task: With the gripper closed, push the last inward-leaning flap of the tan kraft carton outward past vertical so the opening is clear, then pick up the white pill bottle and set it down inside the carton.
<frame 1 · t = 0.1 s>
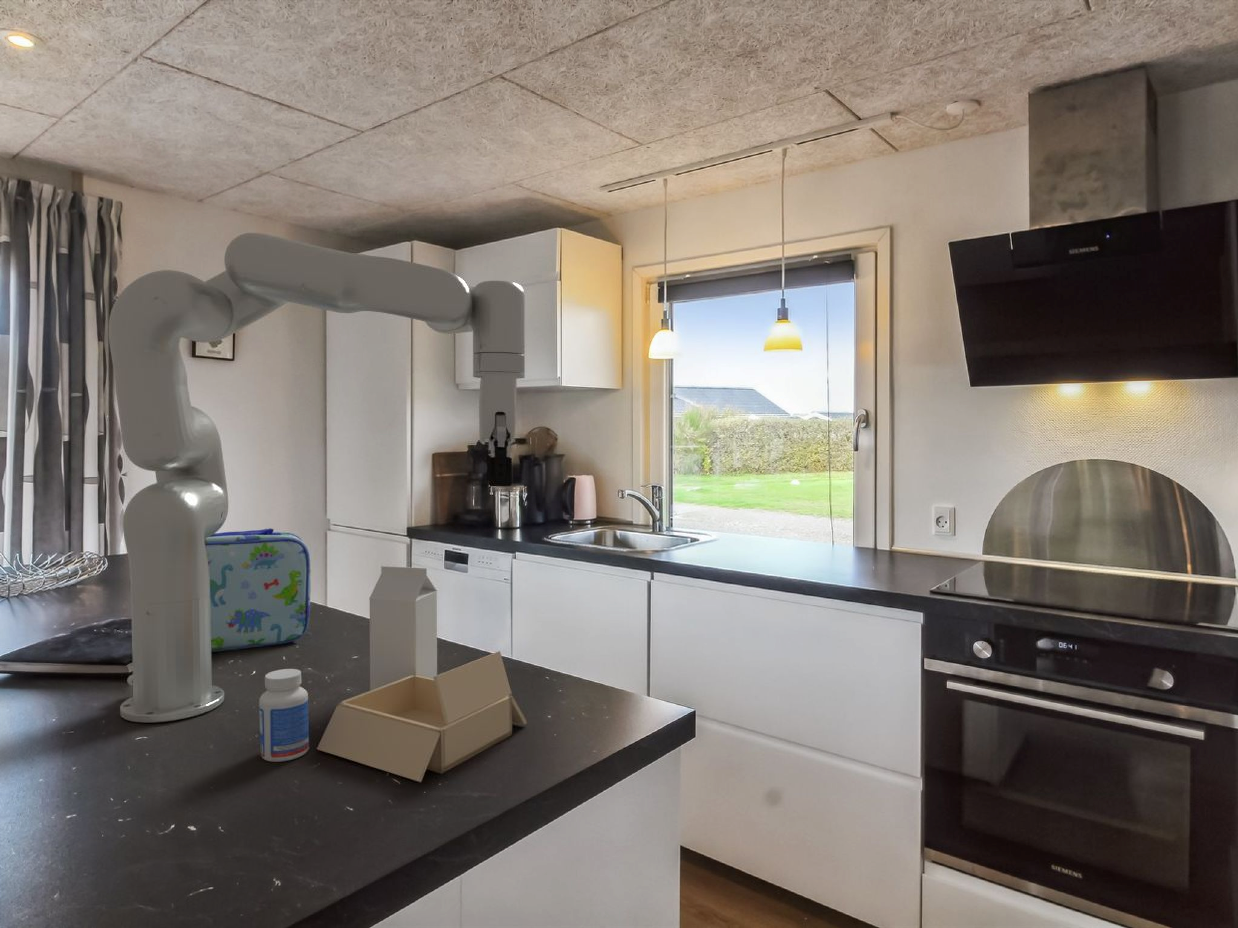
hand: (499, 483, 114), 31 cm above the worktop, tool pointing down, fingers open, 9 cm apart
milk carton: (404, 696, 113), on the worktop
flap: (474, 685, 93), point 8 cm above the worktop, hinge at -20.0°
pill bottle: (284, 754, 93), on the worktop
lunch box: (233, 646, 138), on the worktop
carton: (426, 738, 98), on the worktop
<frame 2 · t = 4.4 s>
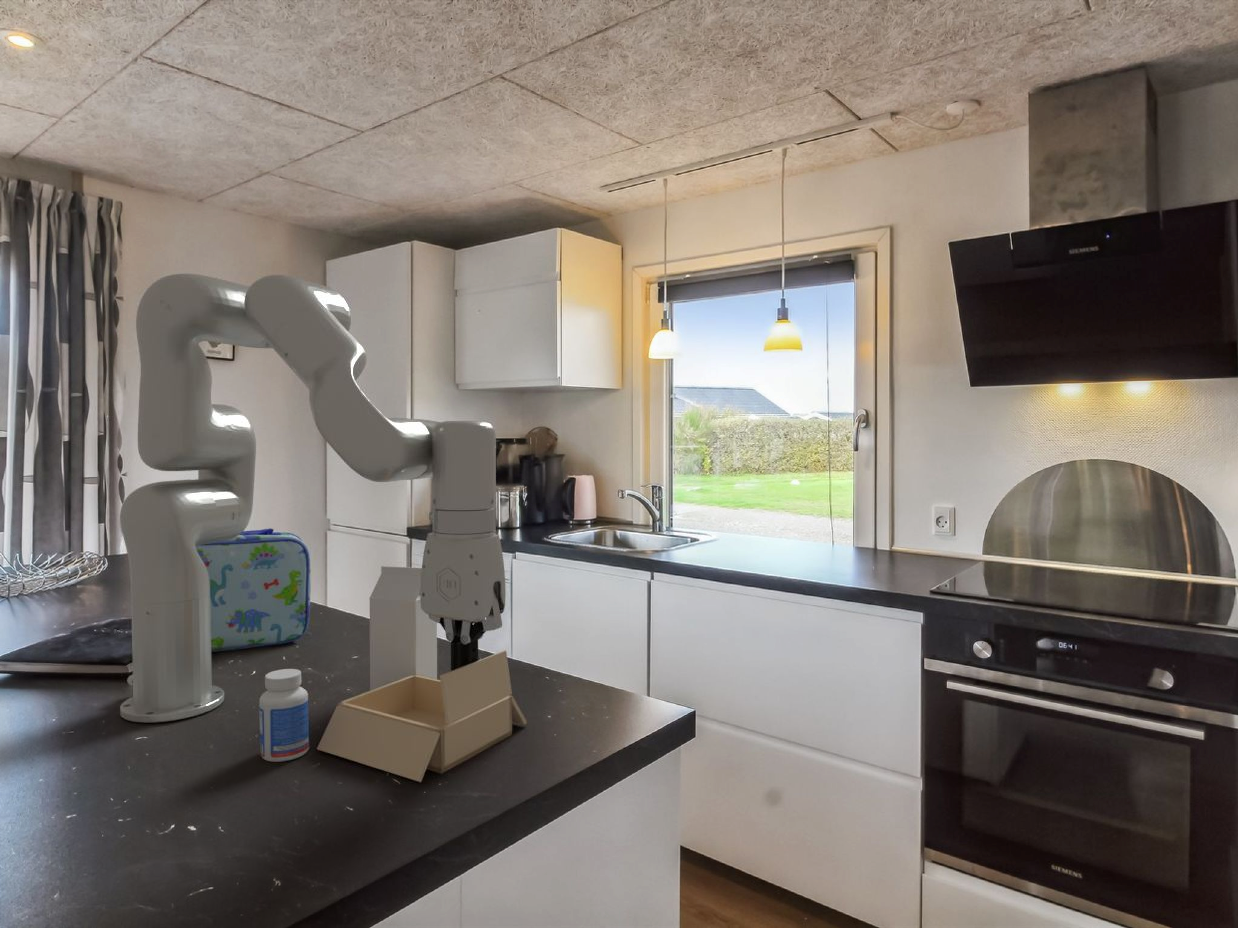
hand: (464, 671, 94), 10 cm above the worktop, tool pointing down, fingers closed
flap: (477, 685, 93), point 8 cm above the worktop, hinge at -9.5°, touching gripper
everything else where it was.
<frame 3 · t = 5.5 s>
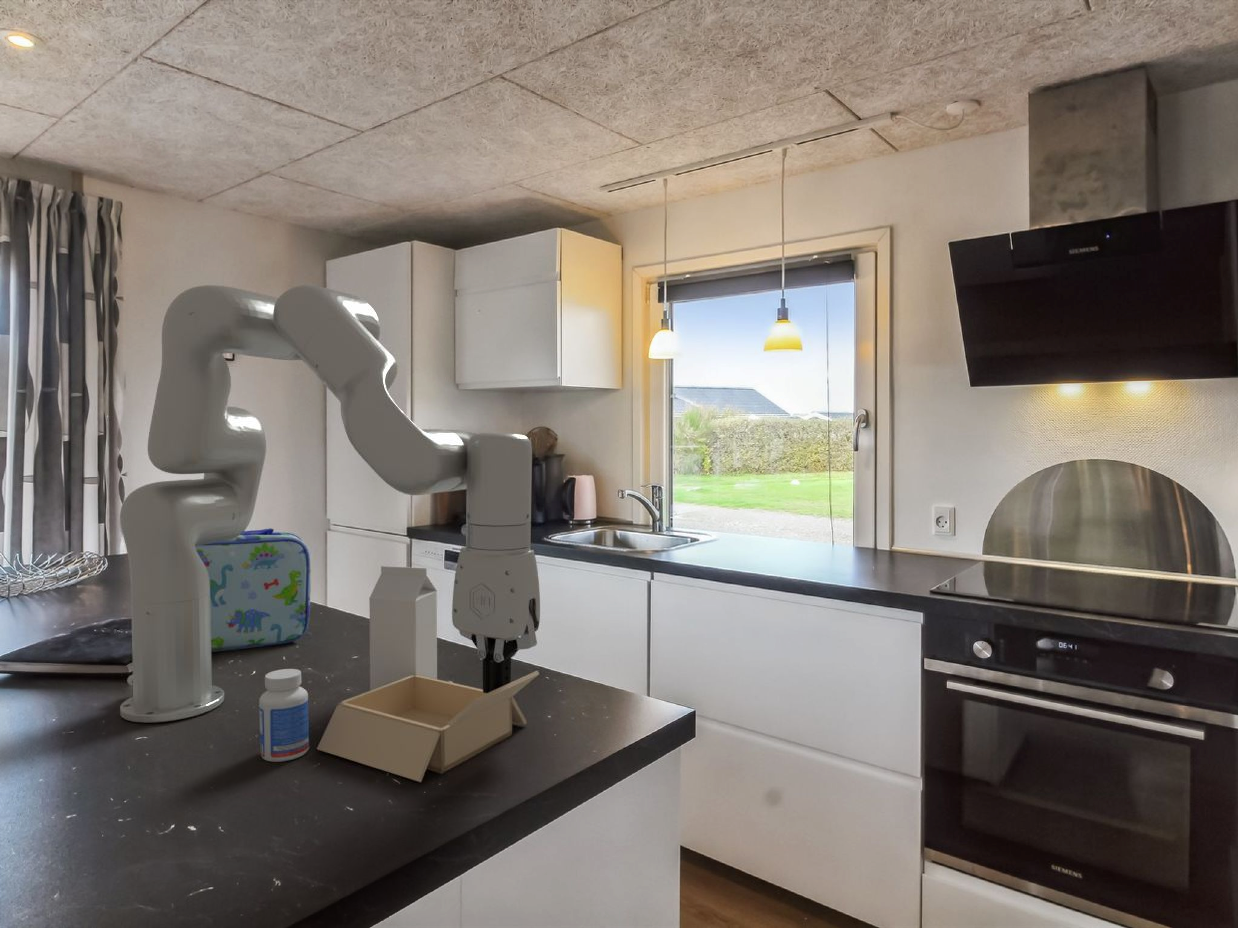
hand: (496, 690, 92), 8 cm above the worktop, tool pointing down, fingers closed
flap: (495, 697, 92), point 7 cm above the worktop, hinge at 49.3°, touching gripper
everything else where it was.
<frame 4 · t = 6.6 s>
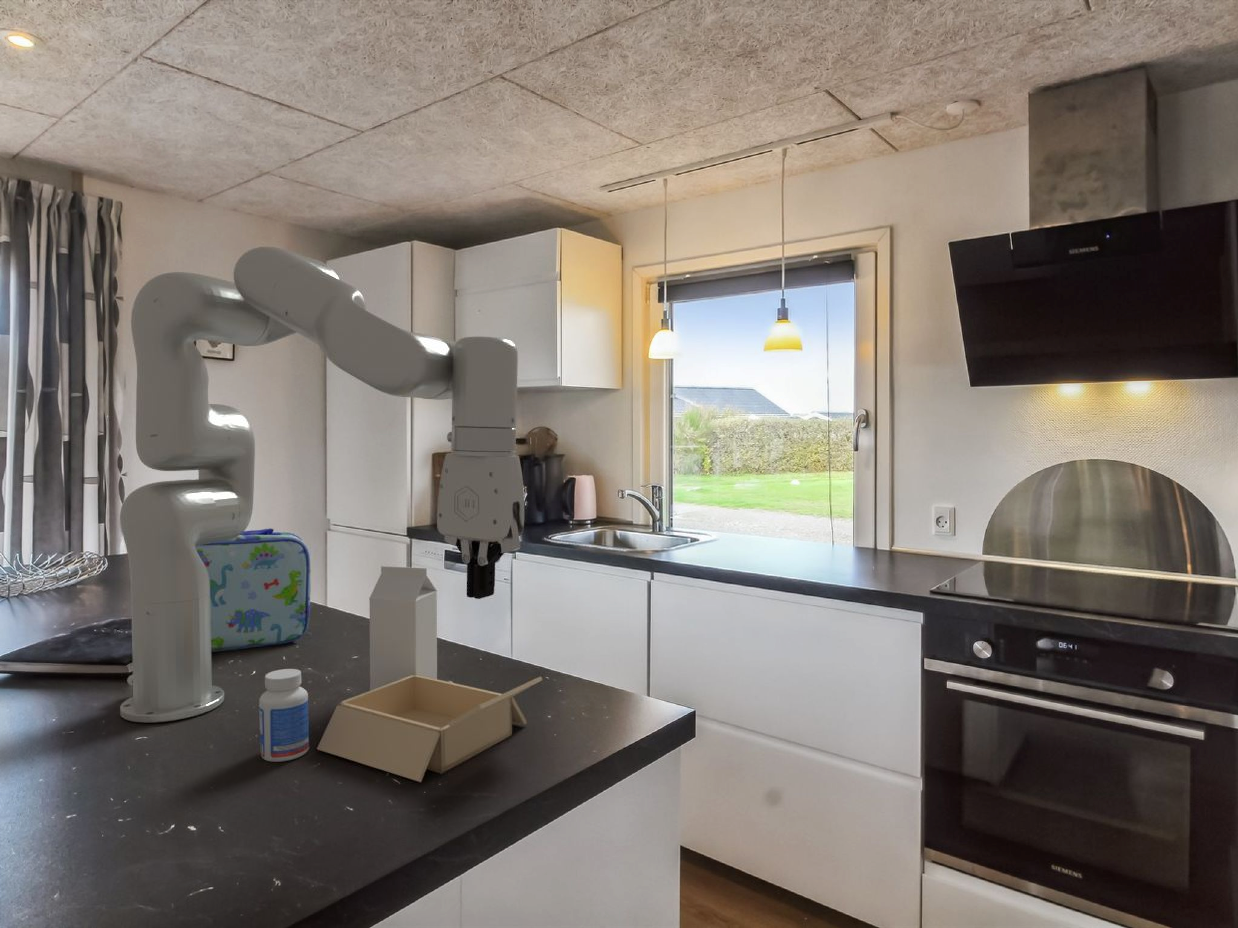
hand: (480, 595, 92), 19 cm above the worktop, tool pointing down, fingers closed
flap: (497, 700, 92), point 7 cm above the worktop, hinge at 57.5°
everything else where it was.
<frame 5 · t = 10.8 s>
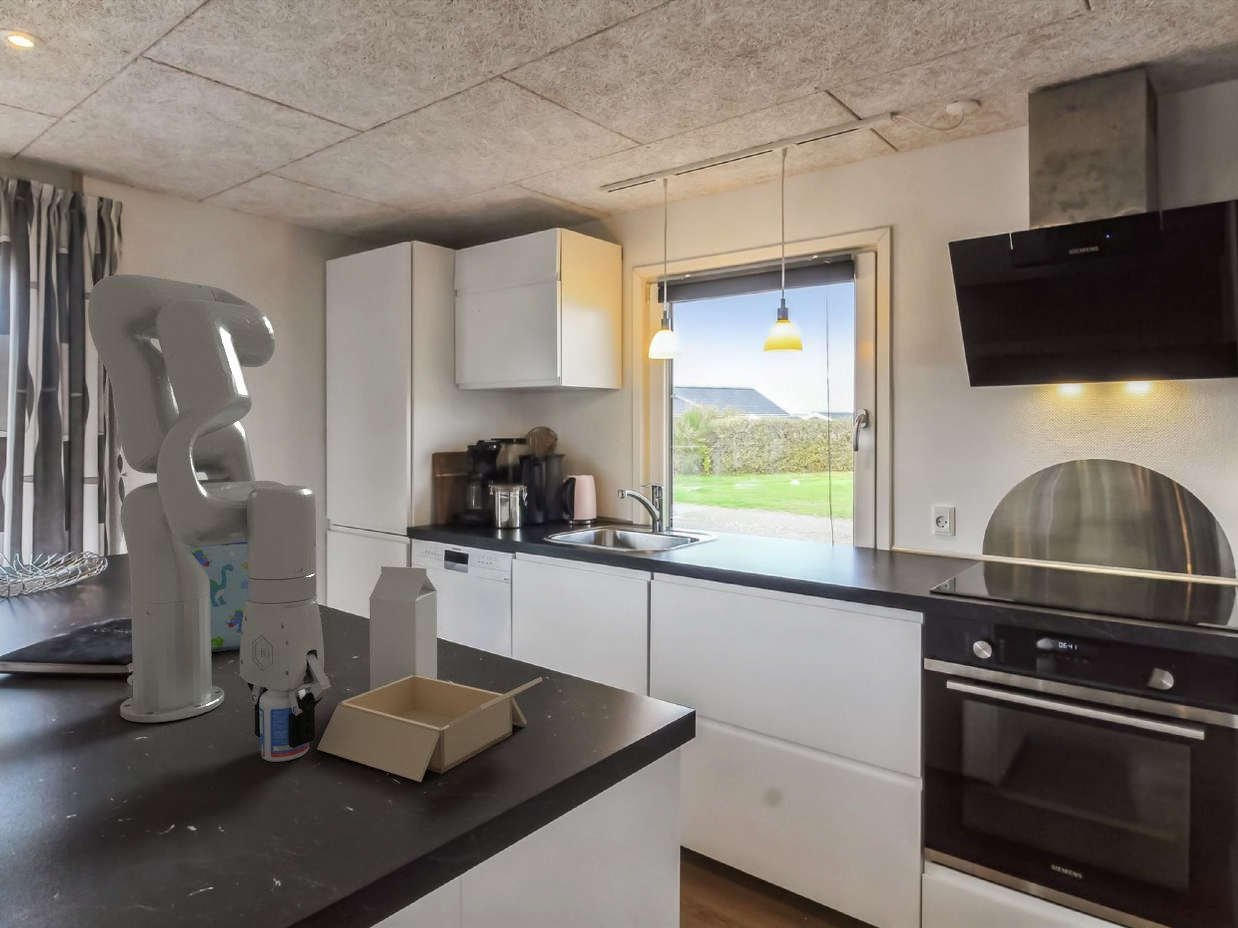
hand: (284, 736, 93), 2 cm above the worktop, tool pointing down, fingers closed on pill bottle, 5 cm apart
flap: (497, 700, 92), point 7 cm above the worktop, hinge at 58.2°
pill bottle: (285, 754, 93), on the worktop, touching gripper
everything else where it was.
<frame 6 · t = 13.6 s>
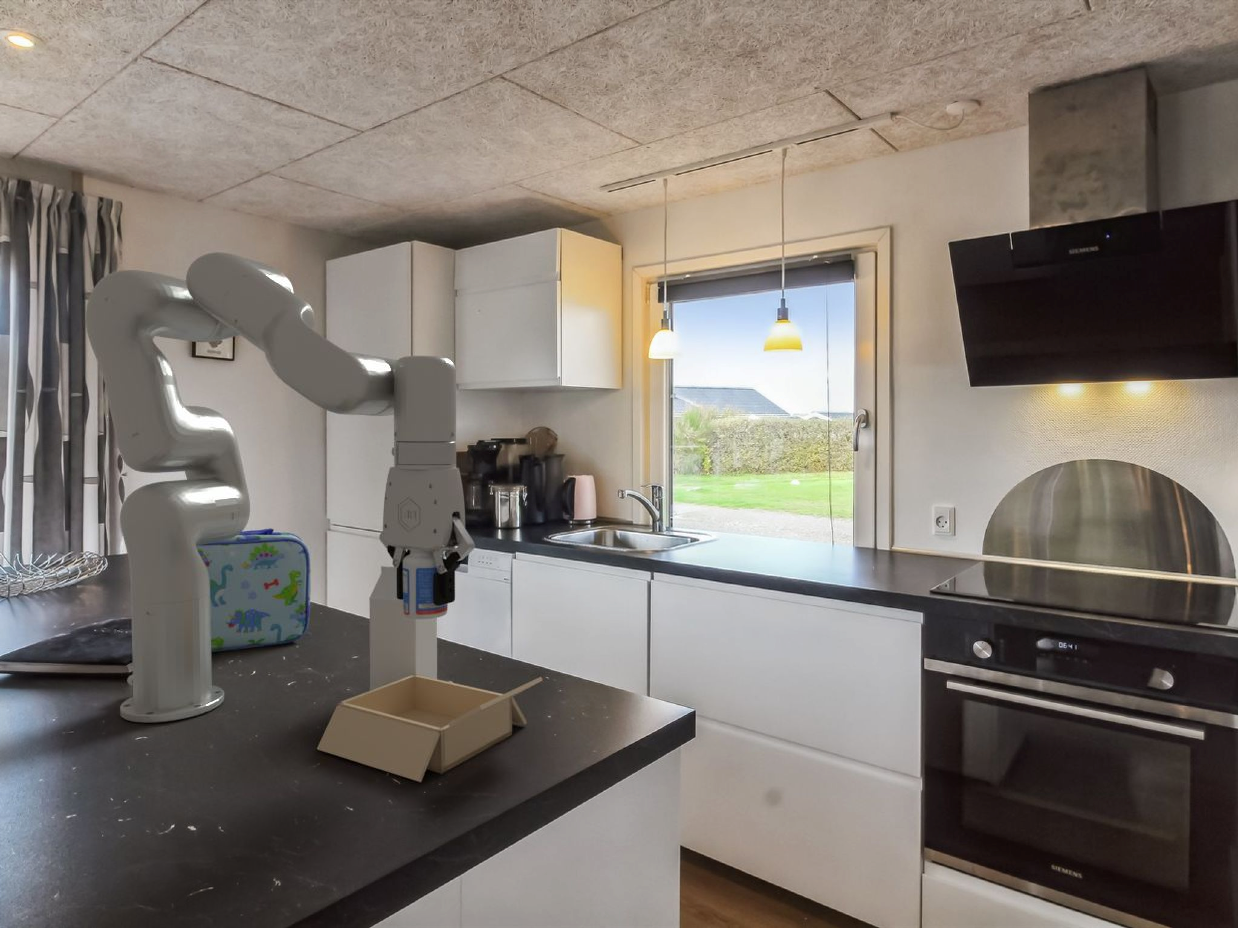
hand: (425, 598, 97), 18 cm above the worktop, tool pointing down, fingers closed on pill bottle, 5 cm apart
pill bottle: (425, 616, 97), point 16 cm above the worktop, touching gripper
everything else where it was.
when the fingers open (5 cm above the worktop, at t = 16.3 s): pill bottle drops 2 cm, resting on carton.
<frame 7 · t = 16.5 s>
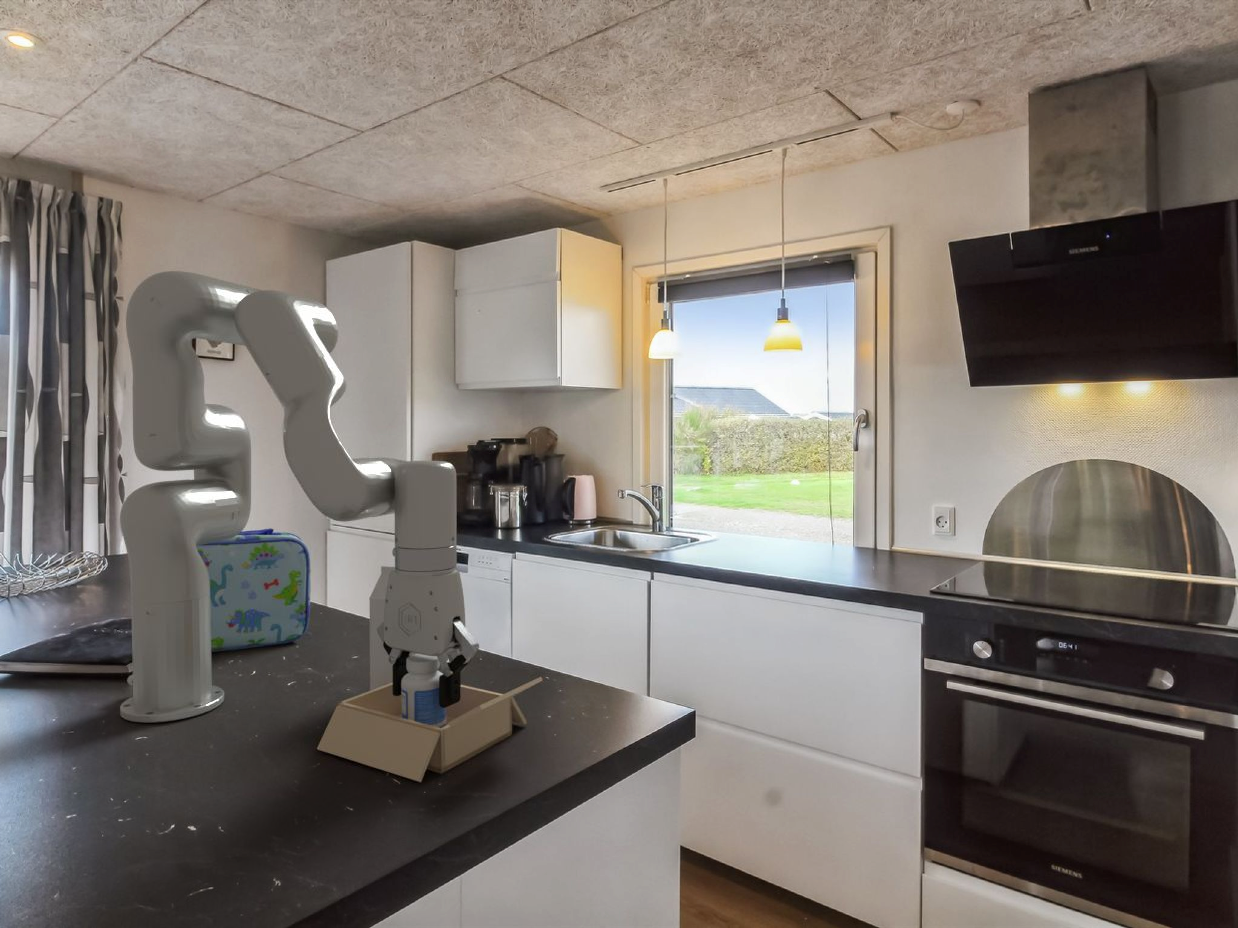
hand: (426, 697, 97), 5 cm above the worktop, tool pointing down, fingers open, 7 cm apart
pill bottle: (423, 734, 98), resting on carton
everything else where it was.
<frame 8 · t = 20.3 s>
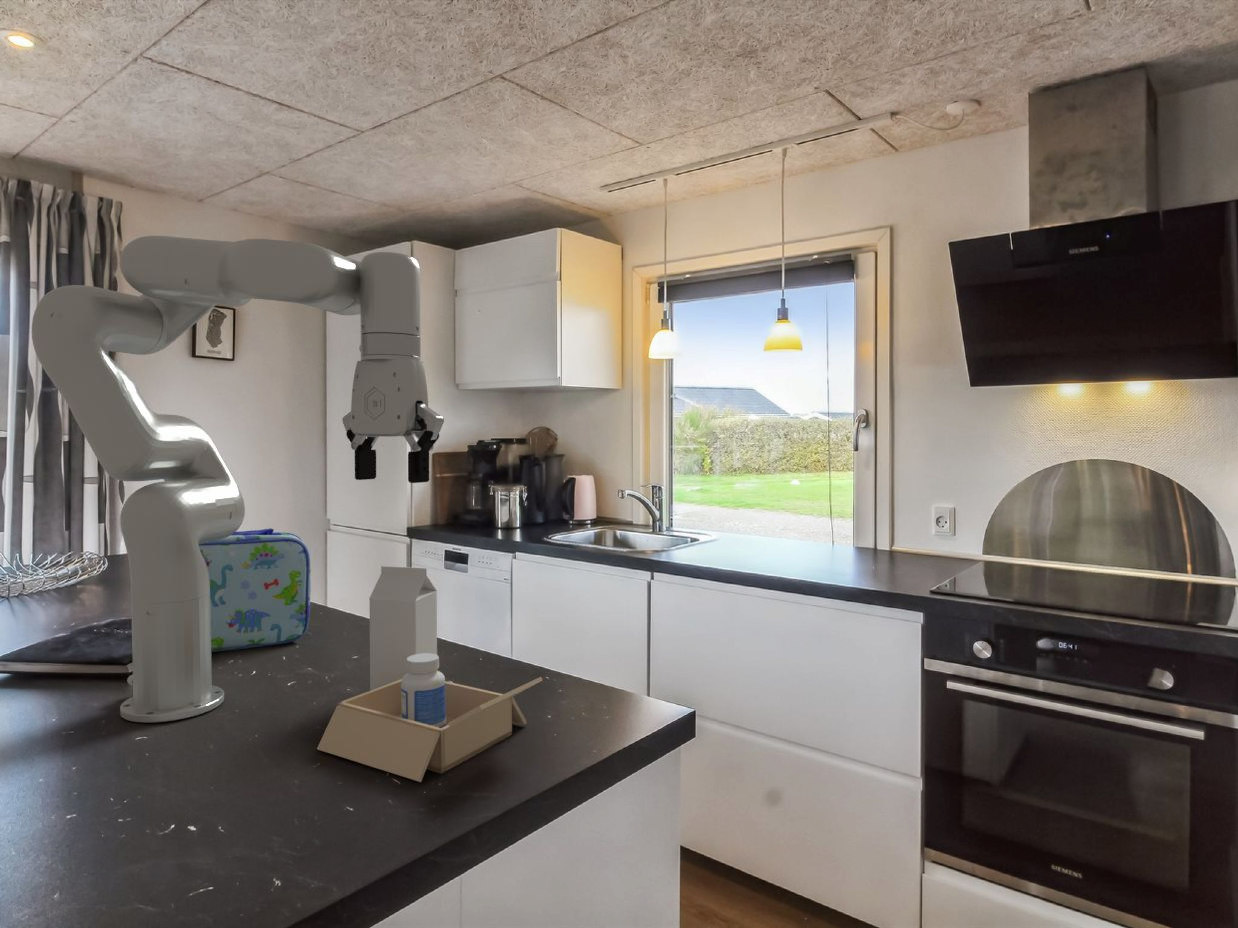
hand: (391, 480, 102), 32 cm above the worktop, tool pointing down, fingers open, 9 cm apart
nothing on the worktop moved.
at the end: flap at +58° (first picture: -20°); pill bottle inside the target area on the carton (0.4 cm from its centre), point 0.4 cm above the carton's base; the gripper is holding nothing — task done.
